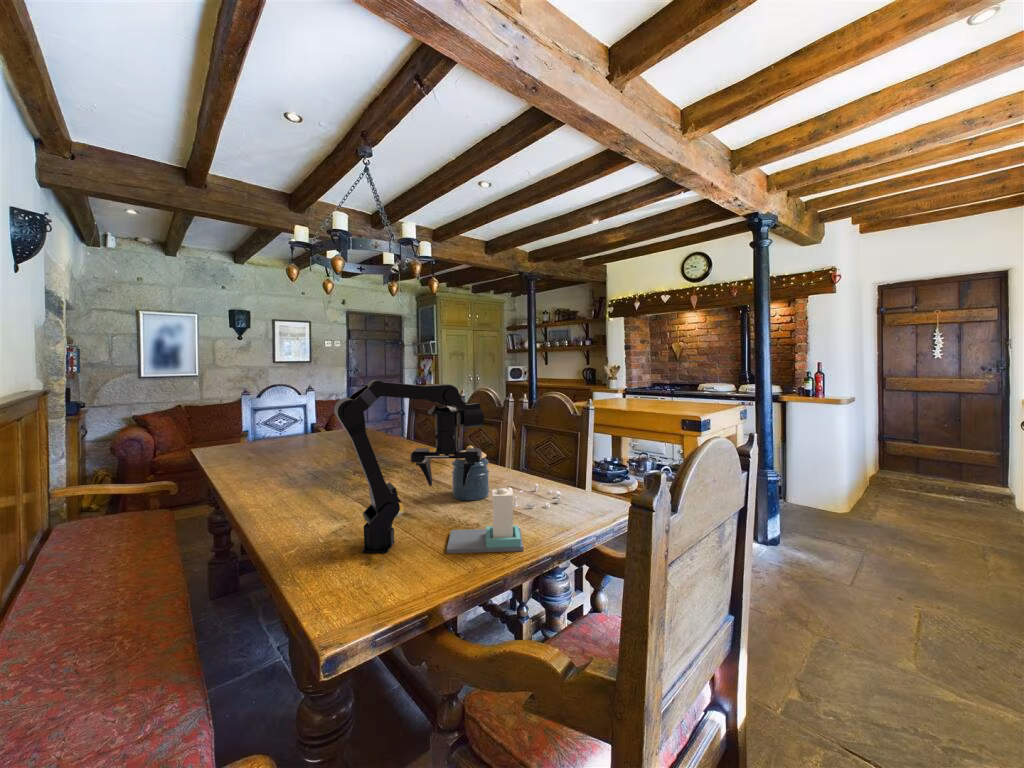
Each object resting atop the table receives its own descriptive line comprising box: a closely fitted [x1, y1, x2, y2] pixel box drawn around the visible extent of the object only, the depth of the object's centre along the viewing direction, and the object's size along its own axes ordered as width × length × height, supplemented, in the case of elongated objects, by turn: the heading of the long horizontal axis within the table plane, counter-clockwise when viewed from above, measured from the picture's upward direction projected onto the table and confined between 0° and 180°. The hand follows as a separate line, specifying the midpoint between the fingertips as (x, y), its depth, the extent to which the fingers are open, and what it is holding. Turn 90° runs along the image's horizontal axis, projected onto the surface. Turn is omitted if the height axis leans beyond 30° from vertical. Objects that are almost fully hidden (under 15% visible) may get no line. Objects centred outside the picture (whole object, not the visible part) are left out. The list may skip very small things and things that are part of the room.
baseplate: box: [446, 525, 524, 554], centre depth 112 cm, size 19×12×3 cm, turn 93°
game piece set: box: [507, 483, 562, 509], centre depth 145 cm, size 19×20×4 cm
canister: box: [451, 445, 490, 502], centre depth 149 cm, size 13×13×18 cm
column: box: [491, 487, 514, 538], centre depth 110 cm, size 5×5×13 cm
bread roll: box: [395, 501, 405, 518], centre depth 133 cm, size 8×9×4 cm
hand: (447, 486), depth 117 cm, fingers open, 9 cm apart
